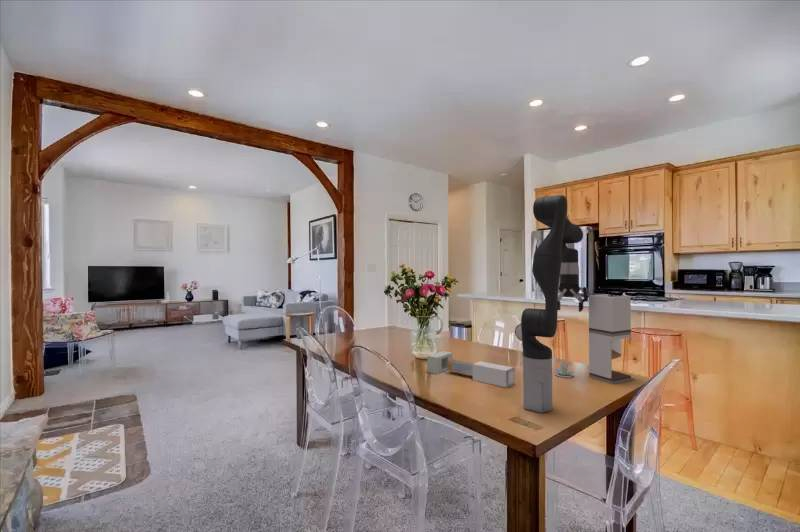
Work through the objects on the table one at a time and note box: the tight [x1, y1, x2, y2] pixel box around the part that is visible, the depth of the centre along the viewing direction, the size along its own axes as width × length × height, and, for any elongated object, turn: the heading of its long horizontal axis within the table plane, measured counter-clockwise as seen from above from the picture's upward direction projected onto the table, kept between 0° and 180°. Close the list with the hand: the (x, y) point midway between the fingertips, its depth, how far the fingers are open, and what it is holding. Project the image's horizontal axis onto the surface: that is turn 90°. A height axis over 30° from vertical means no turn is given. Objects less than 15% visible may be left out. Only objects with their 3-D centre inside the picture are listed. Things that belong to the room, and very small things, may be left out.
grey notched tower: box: [588, 293, 632, 385], centre depth 153 cm, size 11×11×35 cm
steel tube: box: [447, 358, 475, 376], centre depth 156 cm, size 4×26×4 cm, turn 49°
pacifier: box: [555, 360, 575, 379], centre depth 158 cm, size 7×6×6 cm
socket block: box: [426, 350, 453, 375], centre depth 168 cm, size 12×6×7 cm, turn 139°
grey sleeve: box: [472, 360, 515, 389], centre depth 150 cm, size 6×16×7 cm, turn 49°
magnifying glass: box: [514, 323, 522, 342], centre depth 175 cm, size 9×2×20 cm, turn 57°
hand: (569, 310), depth 157 cm, fingers open, 8 cm apart
